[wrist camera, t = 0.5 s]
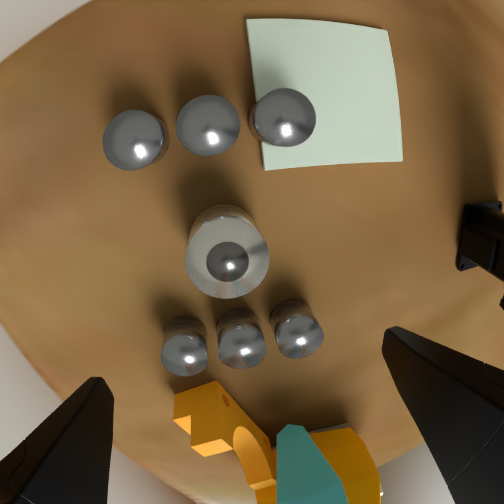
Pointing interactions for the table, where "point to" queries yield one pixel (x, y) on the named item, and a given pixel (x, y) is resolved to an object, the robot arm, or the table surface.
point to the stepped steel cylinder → (226, 252)
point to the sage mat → (330, 89)
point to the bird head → (322, 468)
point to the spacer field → (208, 144)
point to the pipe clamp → (225, 431)
